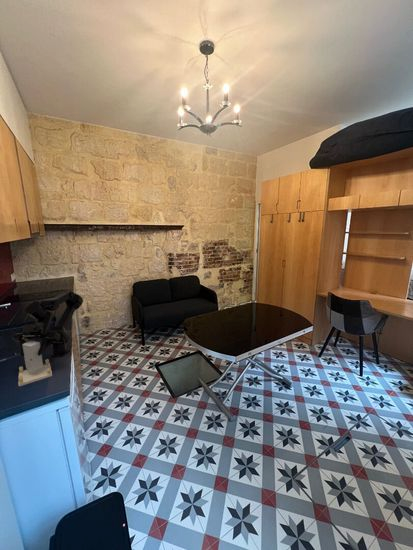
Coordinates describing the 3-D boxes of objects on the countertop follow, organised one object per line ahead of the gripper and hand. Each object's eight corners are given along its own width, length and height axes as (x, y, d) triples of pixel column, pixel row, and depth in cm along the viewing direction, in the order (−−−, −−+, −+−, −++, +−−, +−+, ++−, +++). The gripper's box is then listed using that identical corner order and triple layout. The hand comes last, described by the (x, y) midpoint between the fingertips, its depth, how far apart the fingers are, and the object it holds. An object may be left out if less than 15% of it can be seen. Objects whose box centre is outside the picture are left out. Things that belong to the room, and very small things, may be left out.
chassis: (19, 373, 109) (18, 367, 108) (50, 364, 116) (49, 358, 115) (18, 386, 99) (17, 379, 99) (52, 375, 106) (51, 368, 106)
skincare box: (25, 369, 106) (20, 344, 104) (36, 364, 110) (31, 340, 108) (34, 371, 104) (29, 346, 102) (44, 366, 108) (40, 341, 106)
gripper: (11, 316, 107) (-5, 351, 98) (53, 315, 107) (41, 349, 98) (26, 326, 116) (13, 358, 107) (65, 324, 116) (55, 356, 108)
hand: (30, 355), depth 105 cm, fingers closed on skincare box, 7 cm apart
